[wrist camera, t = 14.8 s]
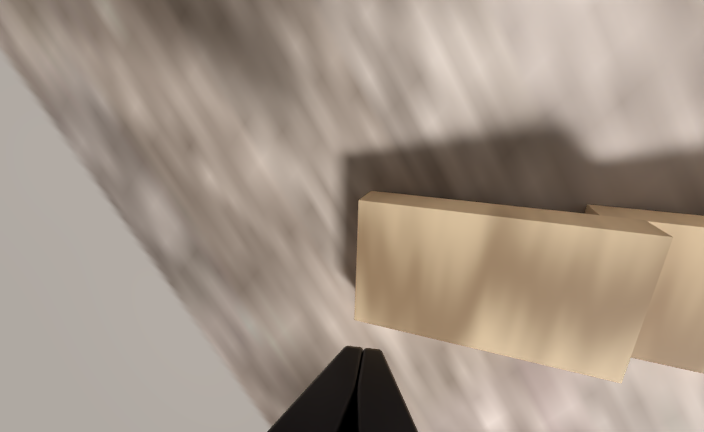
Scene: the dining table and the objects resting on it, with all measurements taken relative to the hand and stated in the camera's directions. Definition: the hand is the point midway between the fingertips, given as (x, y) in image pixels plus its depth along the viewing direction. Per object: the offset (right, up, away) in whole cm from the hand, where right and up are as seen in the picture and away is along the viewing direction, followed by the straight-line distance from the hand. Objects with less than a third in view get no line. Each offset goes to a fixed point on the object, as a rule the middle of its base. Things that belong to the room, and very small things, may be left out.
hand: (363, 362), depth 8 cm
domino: (0, +2, +6) cm, 6 cm away
